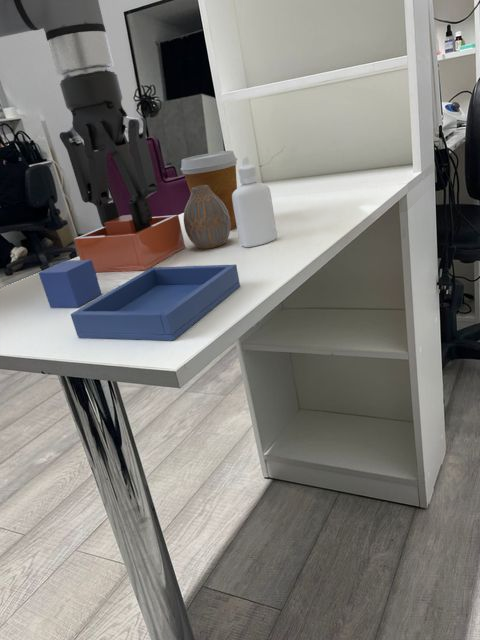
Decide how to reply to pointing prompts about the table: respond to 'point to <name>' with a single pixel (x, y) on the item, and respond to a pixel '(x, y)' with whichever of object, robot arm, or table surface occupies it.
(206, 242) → the vase
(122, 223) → the rust block
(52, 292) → the blue block
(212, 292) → the blue tray
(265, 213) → the eye dropper bottle
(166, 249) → the terracotta bin
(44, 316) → the table surface
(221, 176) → the disposable coffee cup
